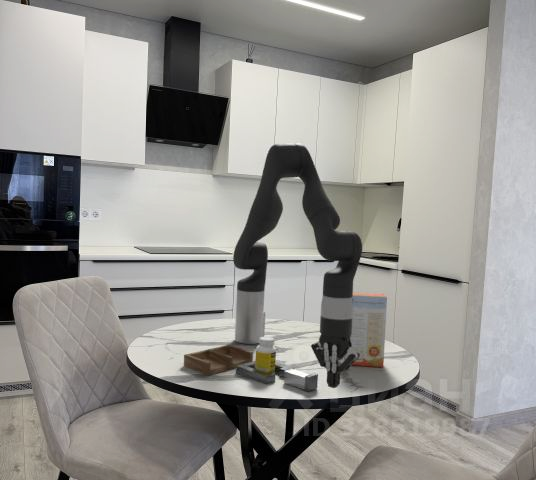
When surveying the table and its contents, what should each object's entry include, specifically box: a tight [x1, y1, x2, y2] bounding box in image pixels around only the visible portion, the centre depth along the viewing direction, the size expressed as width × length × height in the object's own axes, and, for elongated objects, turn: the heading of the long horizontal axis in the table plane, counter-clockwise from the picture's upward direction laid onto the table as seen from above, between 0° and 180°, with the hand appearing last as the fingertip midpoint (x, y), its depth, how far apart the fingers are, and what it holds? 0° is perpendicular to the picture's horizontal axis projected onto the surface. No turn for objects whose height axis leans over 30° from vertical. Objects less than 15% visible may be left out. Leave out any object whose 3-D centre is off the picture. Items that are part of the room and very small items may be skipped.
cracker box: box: [343, 291, 388, 368], centre depth 149 cm, size 14×6×21 cm, turn 84°
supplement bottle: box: [254, 336, 277, 374], centre depth 135 cm, size 5×5×10 cm
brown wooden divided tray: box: [183, 344, 254, 376], centre depth 142 cm, size 17×10×3 cm, turn 137°
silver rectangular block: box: [283, 368, 319, 392], centre depth 127 cm, size 4×8×4 cm, turn 48°
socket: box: [235, 360, 295, 385], centre depth 135 cm, size 11×11×2 cm
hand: (332, 386), depth 120 cm, fingers closed
